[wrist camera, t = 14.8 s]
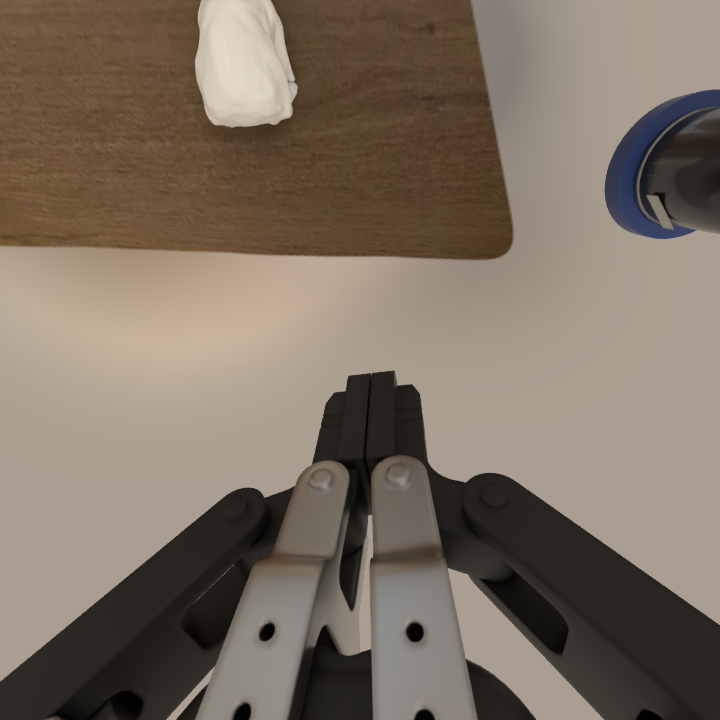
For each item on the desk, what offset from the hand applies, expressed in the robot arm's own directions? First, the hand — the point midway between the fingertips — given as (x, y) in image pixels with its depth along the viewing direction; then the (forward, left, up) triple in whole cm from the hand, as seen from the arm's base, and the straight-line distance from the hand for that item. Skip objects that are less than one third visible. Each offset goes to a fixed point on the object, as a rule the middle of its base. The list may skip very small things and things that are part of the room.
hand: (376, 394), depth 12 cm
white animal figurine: (+6, -17, -27) cm, 32 cm away
